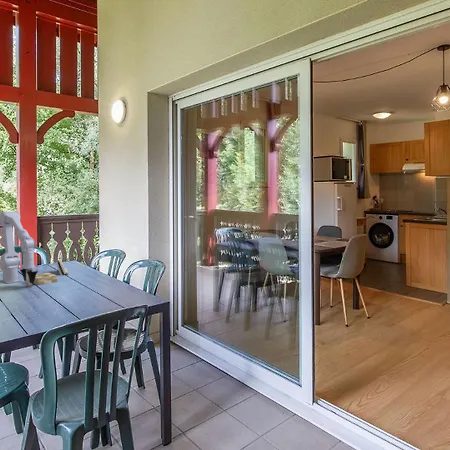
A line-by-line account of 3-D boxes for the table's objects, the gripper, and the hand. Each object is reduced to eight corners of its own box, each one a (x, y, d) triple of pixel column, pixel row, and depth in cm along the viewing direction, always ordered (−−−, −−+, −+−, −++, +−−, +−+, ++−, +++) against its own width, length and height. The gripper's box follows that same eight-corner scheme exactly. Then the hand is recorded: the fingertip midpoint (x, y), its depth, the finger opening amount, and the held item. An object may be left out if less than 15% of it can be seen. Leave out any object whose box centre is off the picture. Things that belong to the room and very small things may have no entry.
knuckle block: (29, 281, 235) (29, 275, 235) (48, 278, 244) (48, 272, 244) (37, 285, 228) (37, 278, 227) (57, 281, 237) (57, 275, 236)
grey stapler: (68, 274, 256) (62, 261, 254) (61, 277, 255) (55, 264, 252) (67, 270, 272) (62, 257, 269) (60, 272, 270) (55, 260, 268)
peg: (25, 286, 224) (25, 270, 223) (30, 285, 226) (30, 269, 225) (27, 287, 222) (27, 270, 221) (33, 286, 224) (32, 270, 223)
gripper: (40, 259, 221) (41, 282, 222) (30, 257, 230) (30, 278, 231) (28, 261, 215) (29, 284, 216) (17, 258, 225) (18, 280, 226)
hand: (29, 281), depth 223 cm, fingers open, 7 cm apart
